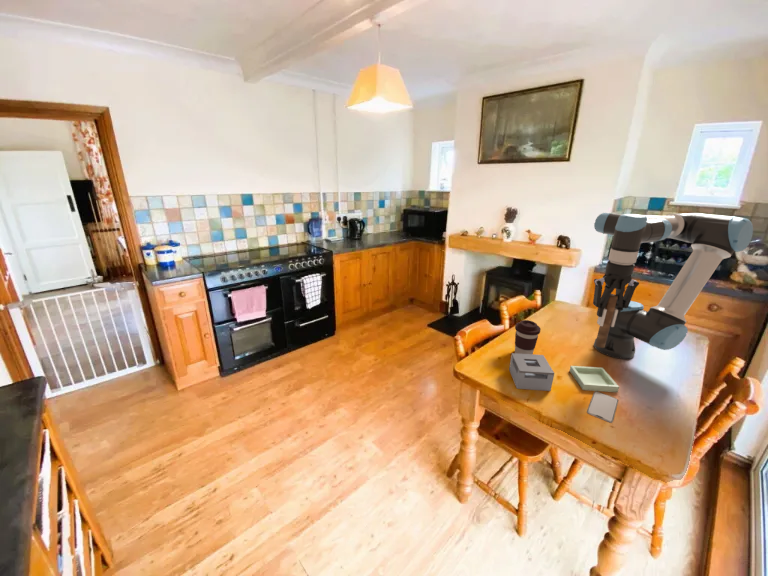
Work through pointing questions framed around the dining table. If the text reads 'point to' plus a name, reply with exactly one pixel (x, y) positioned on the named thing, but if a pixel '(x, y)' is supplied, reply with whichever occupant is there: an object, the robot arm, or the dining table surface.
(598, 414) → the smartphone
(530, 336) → the coffee cup
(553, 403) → the dining table surface
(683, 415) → the dining table surface
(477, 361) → the dining table surface
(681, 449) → the dining table surface
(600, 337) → the brown wooden bar
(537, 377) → the grey slotted box
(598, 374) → the tray
